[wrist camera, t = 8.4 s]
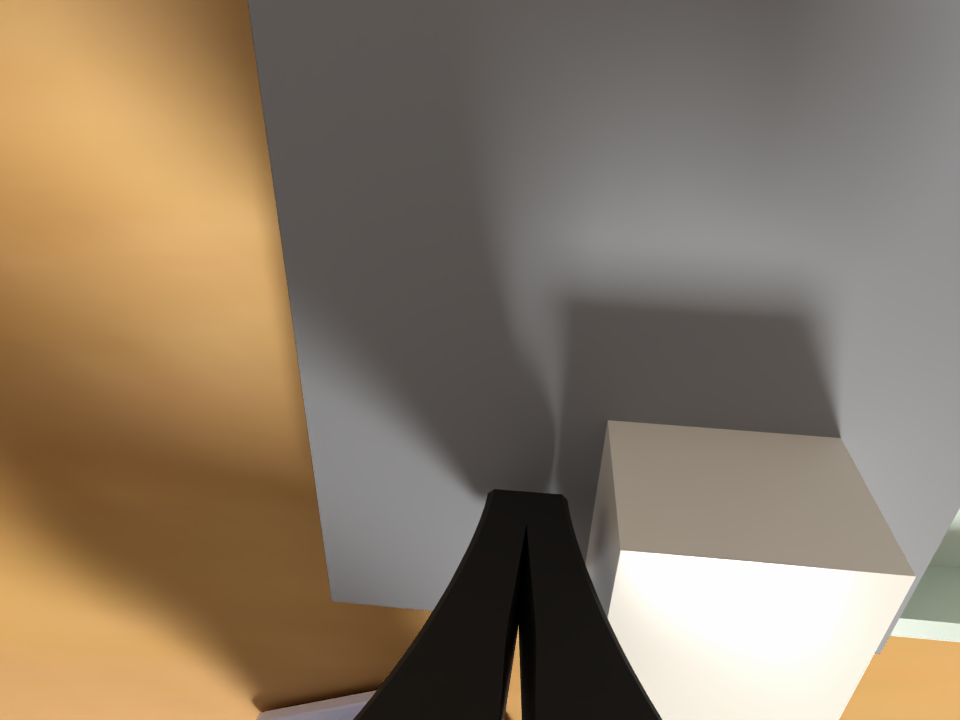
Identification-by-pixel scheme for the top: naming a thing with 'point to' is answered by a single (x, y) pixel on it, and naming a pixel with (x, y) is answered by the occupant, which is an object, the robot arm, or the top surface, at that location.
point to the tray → (936, 595)
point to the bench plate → (609, 251)
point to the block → (742, 569)
